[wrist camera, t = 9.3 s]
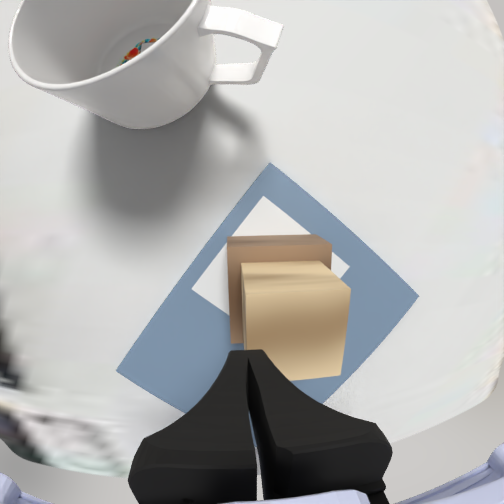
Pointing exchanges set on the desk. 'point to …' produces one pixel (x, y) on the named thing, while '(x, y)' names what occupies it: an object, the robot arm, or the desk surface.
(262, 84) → the desk surface
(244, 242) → the walnut base
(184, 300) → the mat
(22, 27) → the mug
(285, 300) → the maple block
